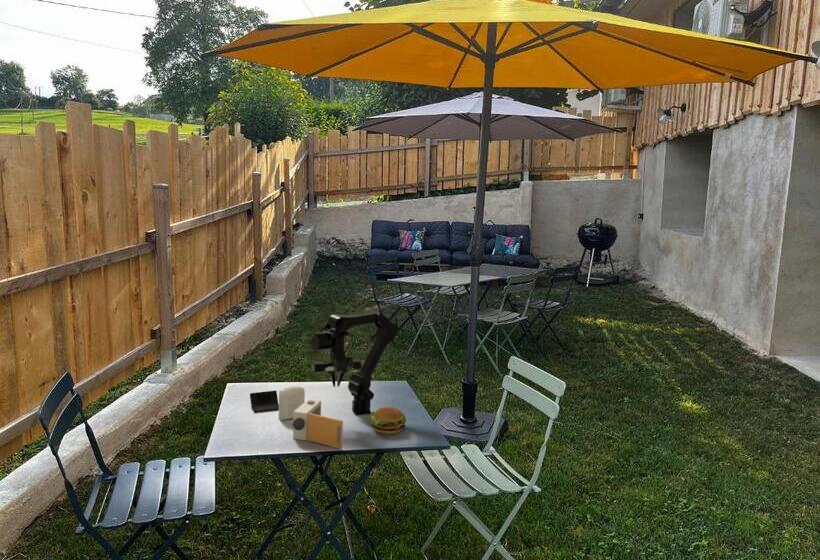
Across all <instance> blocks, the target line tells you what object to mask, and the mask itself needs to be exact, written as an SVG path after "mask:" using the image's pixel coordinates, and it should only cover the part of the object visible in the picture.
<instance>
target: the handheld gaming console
mask: <svg viewBox="0 0 820 560" xmlns="http://www.w3.org/2000/svg"><path fill="white" fill-rule="evenodd" d="M249 399H250V400H249V401H250V406H251V407H250V408H251V410H252V412H253V411H254V412H253V413H254V414H258V412H260V413H266V412H268V411H269V412H276V411H279V397H278V393H277V390H269V391H268V390H267V391H260V392H250V393H249Z"/></svg>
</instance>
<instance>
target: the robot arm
mask: <svg viewBox="0 0 820 560" xmlns="http://www.w3.org/2000/svg"><path fill="white" fill-rule="evenodd" d="M329 316H330V317H329V318H328V320H327V322H326V324H325V326H323V329H322V330H321V332H318V331H317V332H314V333H313V336H312V337H311V339H310V347H311V349H312V350H313V352H320V351H324V350H329V358H328V362H326V363H325V362H323V361H322V360H314V361H312V362H311V367H310V368H311V370H312V371H313V372H314V373H323V372H324V371H326V373H327V374H329V377H330V381H331V382H332V383H331V384H332V386H333V387H334V388H335V387H336V386H337V388H339V387H340V384H341V383H342V380H343V378H344V375H345V374H346V373H349V371H350V370H349V368H353V370H359V371H358V372H357V373H354V372H353V373H352V374H351V377H350V379H349V380H348V384H347V387H348V391H349V392H350V394H351V396H353V399H352V400H351V403H352V404H351V411H352V412H353V413H354V414H355V415H356V416H361V415H362V416H363V415H371V414H372V412H373V411H372V410H371V400H374V397H375V393H374V392H373V391H372V390H371V389H370V388H371V384H372V379H371V378H372V375H373V373H374V372H375V370H376V367H377V366H378V364H379V361H380V359H381V358H382V355H383V354H384V351H385V349H386V347H387V346H388V345H389V344H390V343H392V342H393V341H394V339H395V338H396V337H397V335H398V334H399V327H398V325H397V324H396V323H393V322H392V321H391V320H389V318H387V317H386V316H385V315H384V314H383V313H382V312H379V311H377V310H373V311H369V312H364V313H363V312H362V313H357V314H349V315H347V314H340V313H339V314H338V313H337V314H336V313H334V314H331V315H329ZM368 324H373V325H374V326H375V327H376V331H375V341H374V343H373V345H372V347H371V349H370V351H369V352H368V355H367V356H366V359H365V360H364V362H363V363H362V361H360V359H358V358H353V357H347V356H346V351H345V349H346V336H348V337H349V336H350V335H351V333H350V332H348V330H350V329H351V328H353V327H355V326H356V327H357V326H363V325H368ZM336 372H337V378H336Z"/></svg>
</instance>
